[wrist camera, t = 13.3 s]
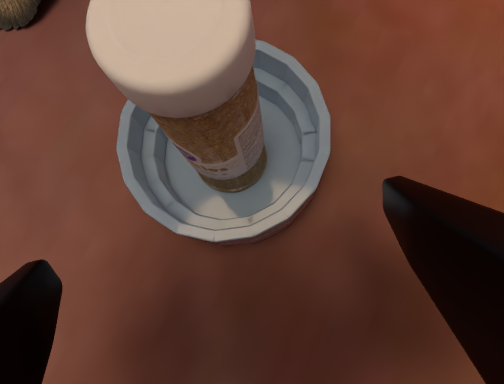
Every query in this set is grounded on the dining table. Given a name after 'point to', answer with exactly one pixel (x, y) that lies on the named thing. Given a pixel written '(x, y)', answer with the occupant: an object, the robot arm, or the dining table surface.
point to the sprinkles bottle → (188, 78)
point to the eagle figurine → (17, 12)
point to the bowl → (255, 196)
